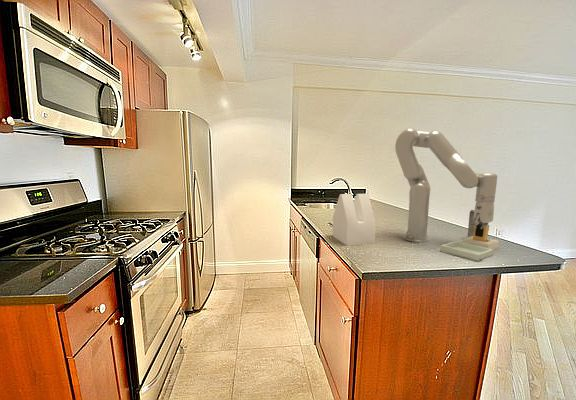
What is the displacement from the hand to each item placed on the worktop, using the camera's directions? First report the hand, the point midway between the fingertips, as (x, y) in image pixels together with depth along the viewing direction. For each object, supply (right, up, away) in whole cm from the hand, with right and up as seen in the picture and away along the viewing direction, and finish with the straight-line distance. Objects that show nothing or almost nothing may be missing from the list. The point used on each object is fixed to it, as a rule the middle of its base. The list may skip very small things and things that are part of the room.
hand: (480, 235), depth 134 cm
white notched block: (-60, -4, +14) cm, 62 cm away
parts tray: (-13, -7, -8) cm, 17 cm away
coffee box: (+6, -5, +13) cm, 15 cm away
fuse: (0, -4, +1) cm, 4 cm away
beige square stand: (0, -6, +1) cm, 6 cm away
